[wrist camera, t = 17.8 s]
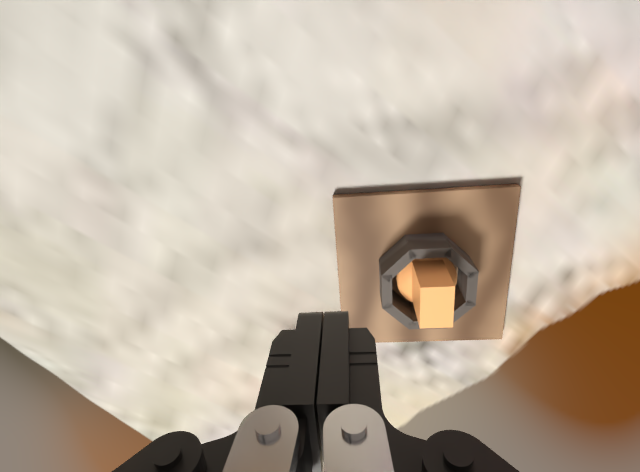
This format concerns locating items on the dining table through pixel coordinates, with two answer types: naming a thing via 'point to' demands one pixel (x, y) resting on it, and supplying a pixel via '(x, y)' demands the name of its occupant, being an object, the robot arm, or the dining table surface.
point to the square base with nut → (426, 242)
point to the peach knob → (430, 290)
